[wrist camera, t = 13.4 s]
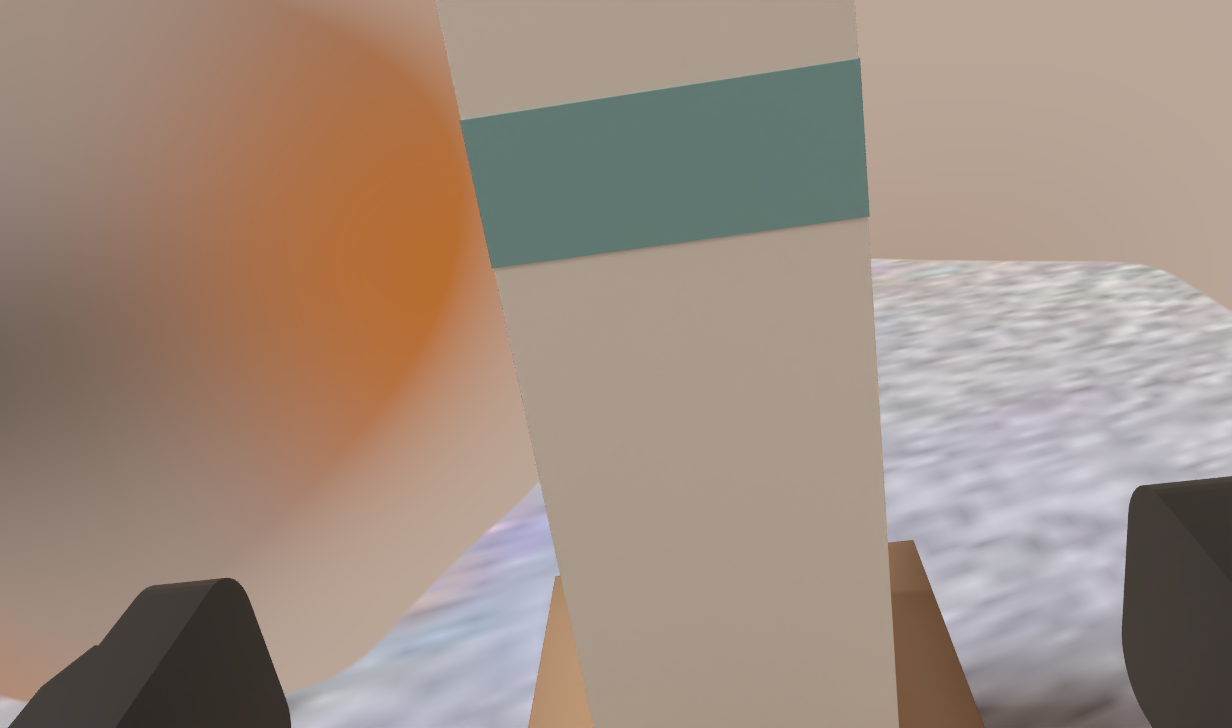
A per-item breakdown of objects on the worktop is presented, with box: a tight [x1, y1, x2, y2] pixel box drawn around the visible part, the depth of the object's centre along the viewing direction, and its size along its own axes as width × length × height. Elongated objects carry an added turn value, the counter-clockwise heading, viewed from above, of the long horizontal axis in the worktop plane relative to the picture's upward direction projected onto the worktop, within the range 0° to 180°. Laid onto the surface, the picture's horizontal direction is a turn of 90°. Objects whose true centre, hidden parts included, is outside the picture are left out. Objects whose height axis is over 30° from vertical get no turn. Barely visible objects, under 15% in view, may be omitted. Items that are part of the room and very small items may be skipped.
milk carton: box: [435, 0, 899, 728], centre depth 20 cm, size 6×6×16 cm
